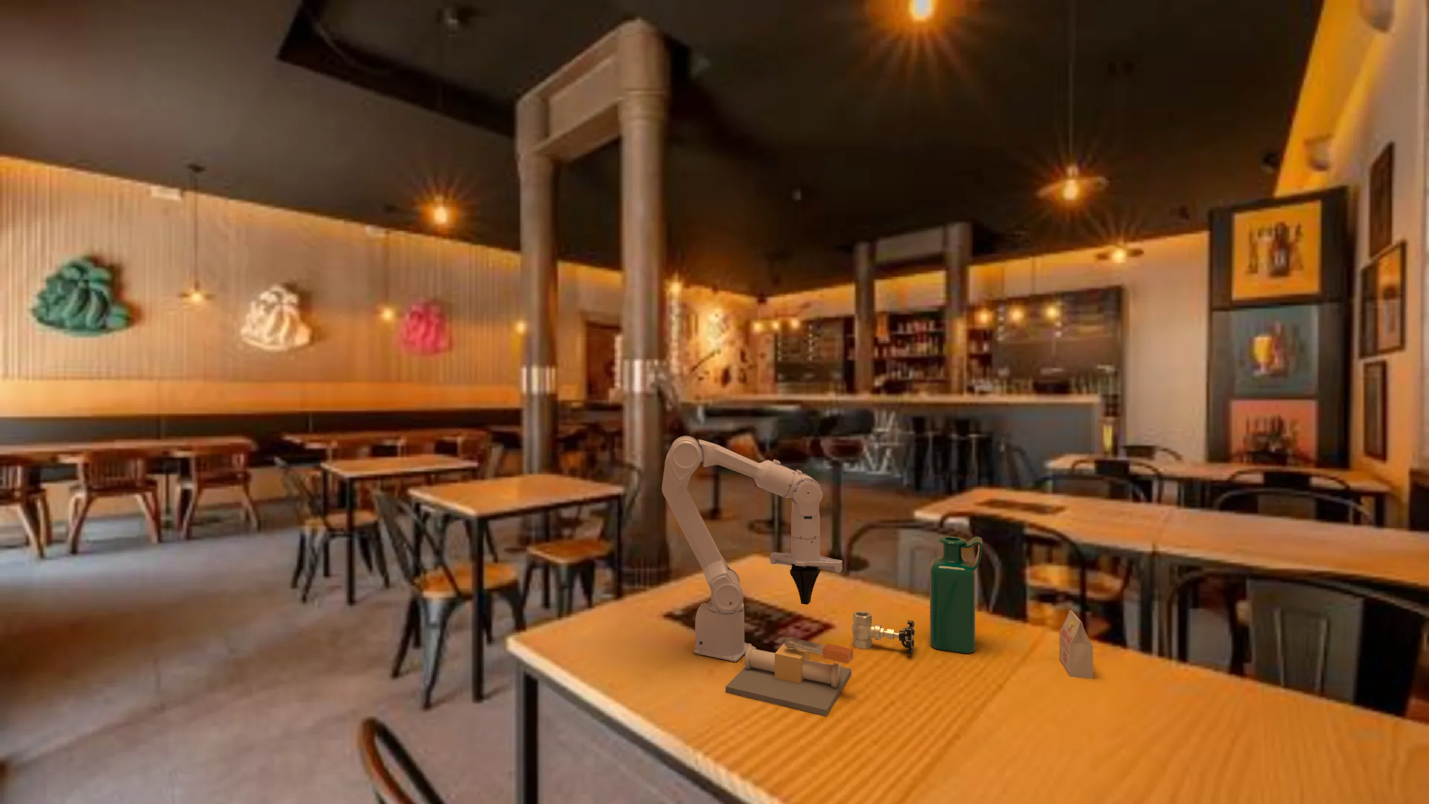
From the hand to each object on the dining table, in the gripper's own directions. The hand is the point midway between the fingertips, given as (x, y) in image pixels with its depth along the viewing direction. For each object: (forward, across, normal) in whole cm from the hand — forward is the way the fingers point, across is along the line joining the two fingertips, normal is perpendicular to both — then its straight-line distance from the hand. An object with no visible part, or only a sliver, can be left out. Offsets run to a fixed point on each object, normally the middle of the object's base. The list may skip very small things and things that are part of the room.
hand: (805, 602), depth 123 cm
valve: (+10, +14, +7) cm, 18 cm away
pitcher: (+10, +27, +15) cm, 32 cm away
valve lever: (+4, +7, -14) cm, 16 cm away
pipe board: (+9, +2, -14) cm, 17 cm away
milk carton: (+10, +48, +13) cm, 51 cm away
